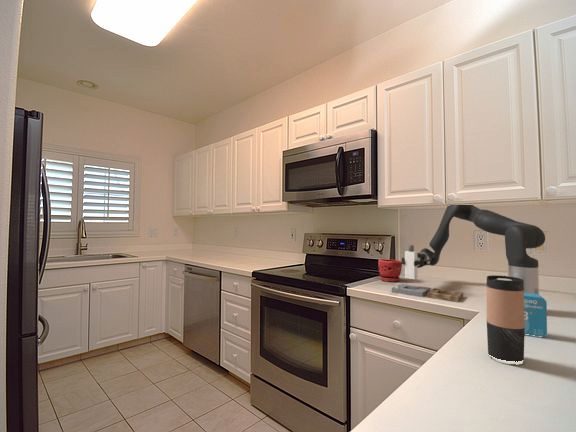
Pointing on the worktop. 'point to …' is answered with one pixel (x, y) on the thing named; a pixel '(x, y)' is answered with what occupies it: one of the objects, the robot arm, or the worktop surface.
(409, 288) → the port plate
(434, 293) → the brown square frame
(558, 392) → the worktop surface
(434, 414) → the worktop surface
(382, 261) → the plant pot
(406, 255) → the plug
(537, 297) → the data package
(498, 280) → the travel mug
